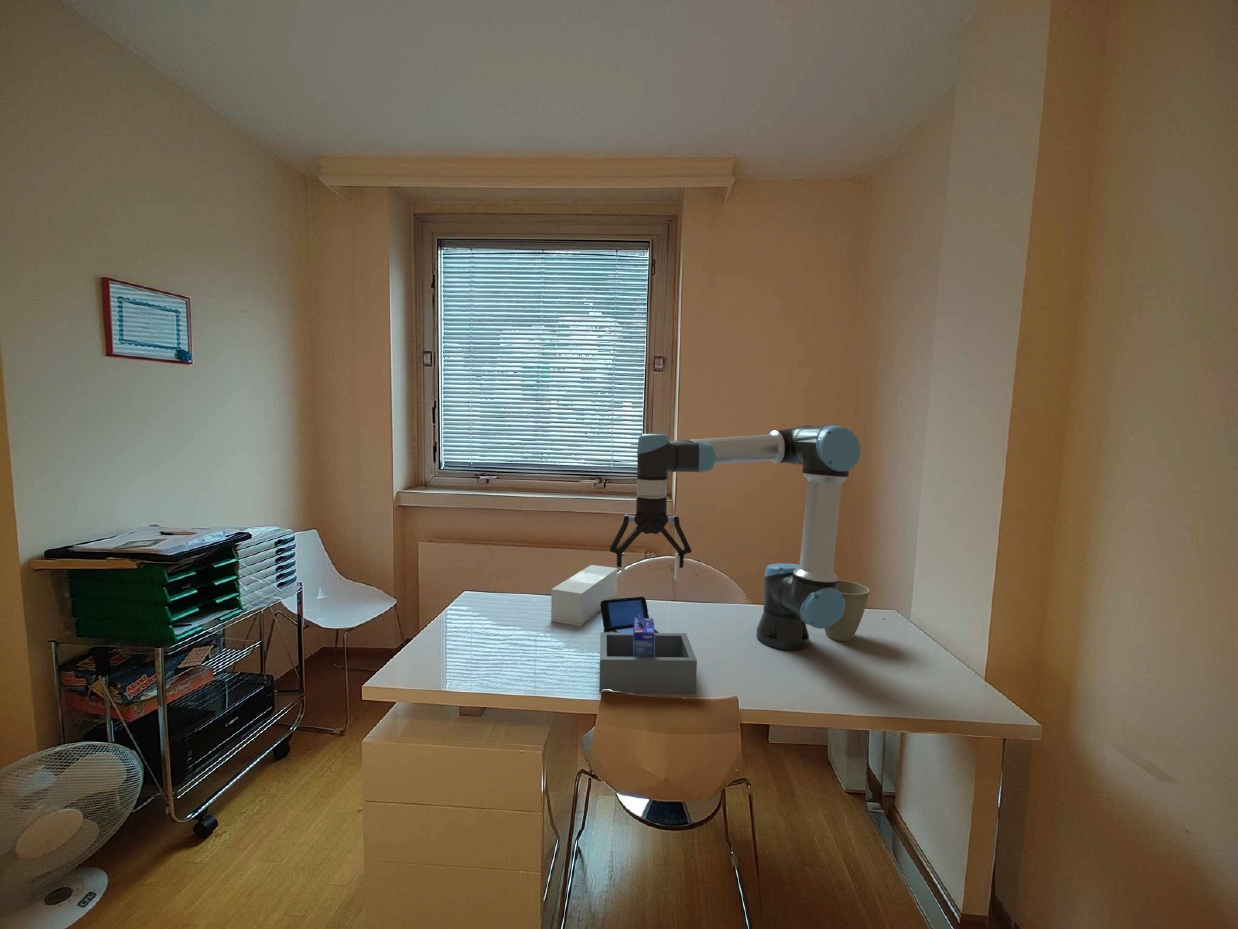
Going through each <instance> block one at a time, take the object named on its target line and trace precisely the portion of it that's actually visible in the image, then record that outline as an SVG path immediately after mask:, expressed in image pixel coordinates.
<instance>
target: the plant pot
mask: <svg viewBox="0 0 1238 929" xmlns="http://www.w3.org/2000/svg"><path fill="white" fill-rule="evenodd" d="M837 590H838V591H840V592H841V594H842V596H843V597H844V599H845V610H844V613H843V615H842V617H841V618H840V620H839V621H837V622H836V623H835V624H834V625H832V626H830V627H828V628H823V629H824V631H825V634H826V636H827V637H828V638H830V639H832V640H835V641H838V642H850V641H851V640H853V638H854V636H855V634H856V632H857V630H858V628H859V626H860V624H861V621H862V618H863V616H864V613H865V610H866V607H867V602H868V599H869V594H870V589H869V588H868V587H867V586H865V585H862V584H860V583H857V582H853V581H848V580H842V579H838V588H837Z"/></svg>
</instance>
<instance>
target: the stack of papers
mask: <svg viewBox="0 0 1238 929" xmlns="http://www.w3.org/2000/svg"><path fill="white" fill-rule="evenodd" d="M618 568H619V567H613V566H611V567H610V566H605V565H595V564H591V565H588V566H587V567H585V568H584V569H582V570H580V571H579V572H577V573H575V574H573V575H572V576H570V577H568V579H566V580H564V581H563V582H561V583H559V584H557V585H556V586H554V587H553V588H551V591H550V593H551V595H550V601H551V602H550V621H551V622H555V623H561V624H567V625H572V626H577V627H582V626H583V625H584V624H585V623H587V622H588V621H589V620H590V619H591V618H592V617H594V616H595V615H596V614H598V612H599V611H600V610H601V606H600V604H601V602H602V601H603V600H612V599H616V597H617V596H618V594H617V593H618V571H619V570H618Z"/></svg>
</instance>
